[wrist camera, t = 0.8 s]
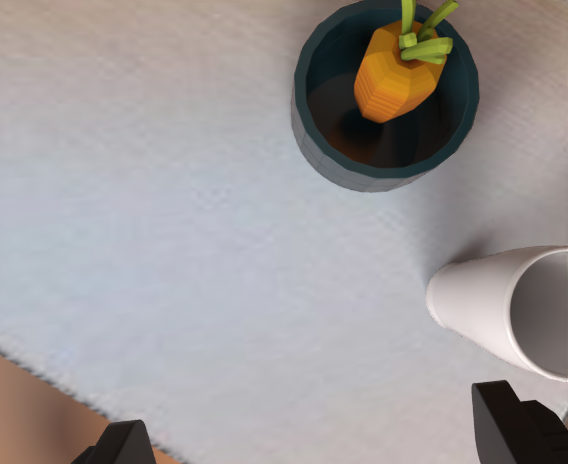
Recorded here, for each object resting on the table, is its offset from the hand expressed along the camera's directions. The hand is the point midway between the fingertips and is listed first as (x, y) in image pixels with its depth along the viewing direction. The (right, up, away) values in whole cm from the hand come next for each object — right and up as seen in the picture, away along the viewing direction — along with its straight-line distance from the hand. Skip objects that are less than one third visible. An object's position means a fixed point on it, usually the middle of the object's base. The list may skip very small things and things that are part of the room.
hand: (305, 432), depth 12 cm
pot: (+6, +14, +28) cm, 32 cm away
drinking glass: (+13, 0, +27) cm, 30 cm away
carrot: (+6, +14, +28) cm, 32 cm away
